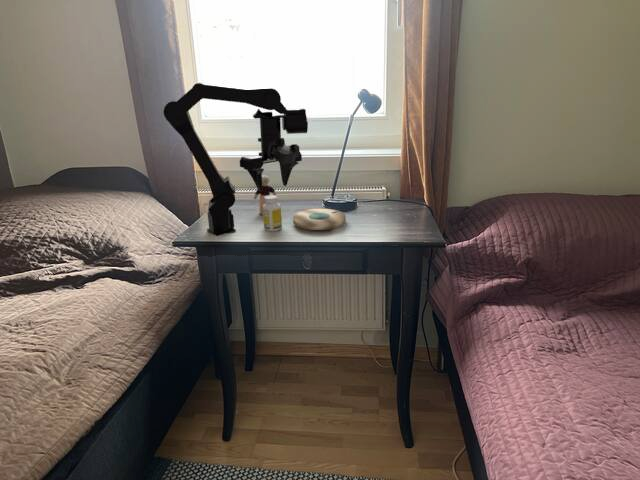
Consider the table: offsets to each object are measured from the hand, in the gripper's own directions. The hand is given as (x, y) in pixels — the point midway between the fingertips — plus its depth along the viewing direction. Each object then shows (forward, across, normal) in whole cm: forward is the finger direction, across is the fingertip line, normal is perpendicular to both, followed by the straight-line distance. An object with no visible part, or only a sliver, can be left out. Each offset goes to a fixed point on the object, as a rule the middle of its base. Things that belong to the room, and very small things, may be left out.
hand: (272, 188), depth 135 cm
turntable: (+12, +11, -8) cm, 18 cm away
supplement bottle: (+12, -1, -1) cm, 12 cm away
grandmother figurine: (+12, +7, +13) cm, 19 cm away
